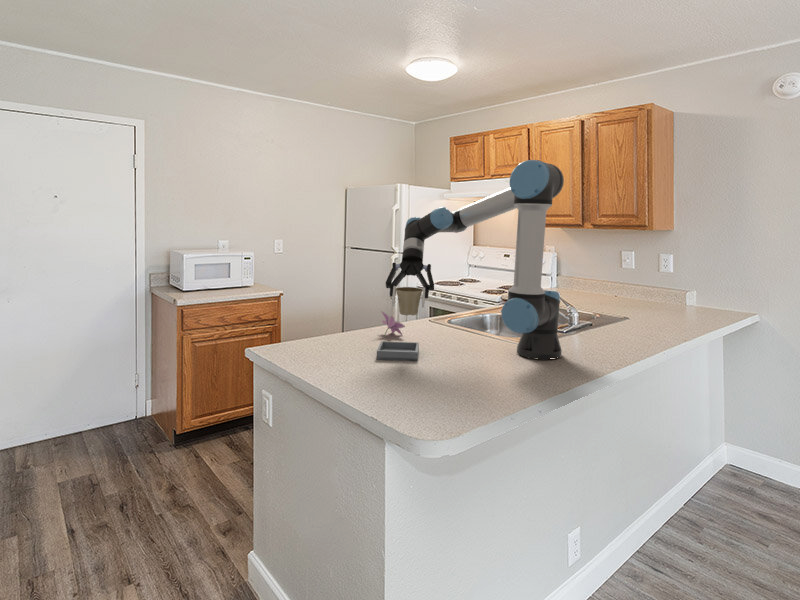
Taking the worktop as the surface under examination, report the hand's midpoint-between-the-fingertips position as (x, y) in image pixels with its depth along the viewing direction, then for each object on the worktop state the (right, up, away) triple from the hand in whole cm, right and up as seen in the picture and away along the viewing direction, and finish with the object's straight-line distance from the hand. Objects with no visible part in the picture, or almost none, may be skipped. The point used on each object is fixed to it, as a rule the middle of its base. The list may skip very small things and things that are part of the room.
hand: (408, 304), depth 169 cm
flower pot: (0, -3, +4) cm, 5 cm away
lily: (-6, -13, +34) cm, 37 cm away
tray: (-3, -17, +5) cm, 18 cm away
